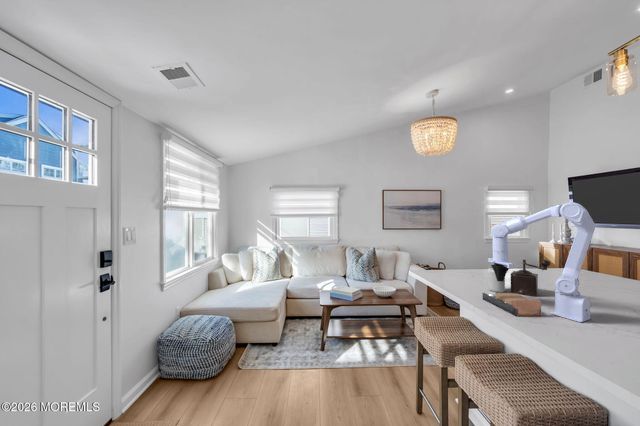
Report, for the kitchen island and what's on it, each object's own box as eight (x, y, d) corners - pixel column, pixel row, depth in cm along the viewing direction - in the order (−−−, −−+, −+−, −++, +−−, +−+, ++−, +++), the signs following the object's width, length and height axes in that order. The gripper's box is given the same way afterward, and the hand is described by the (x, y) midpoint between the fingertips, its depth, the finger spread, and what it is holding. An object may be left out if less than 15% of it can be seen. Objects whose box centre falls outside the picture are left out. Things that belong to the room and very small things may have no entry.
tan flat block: (495, 297, 115) (495, 293, 115) (513, 297, 115) (513, 292, 115) (513, 305, 105) (513, 300, 105) (532, 305, 105) (532, 300, 105)
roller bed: (482, 299, 122) (482, 286, 122) (503, 298, 122) (503, 286, 122) (516, 316, 102) (516, 300, 102) (541, 315, 102) (541, 300, 102)
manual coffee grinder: (509, 292, 132) (509, 256, 132) (513, 288, 140) (512, 254, 140) (550, 299, 121) (550, 260, 121) (551, 294, 129) (551, 257, 129)
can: (504, 294, 130) (504, 269, 130) (486, 291, 134) (486, 267, 134) (505, 290, 136) (505, 267, 135) (487, 288, 140) (487, 265, 140)
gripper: (481, 248, 126) (481, 277, 126) (501, 253, 111) (501, 285, 112) (496, 248, 126) (497, 277, 126) (518, 253, 111) (518, 285, 111)
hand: (500, 281), depth 119 cm, fingers closed
